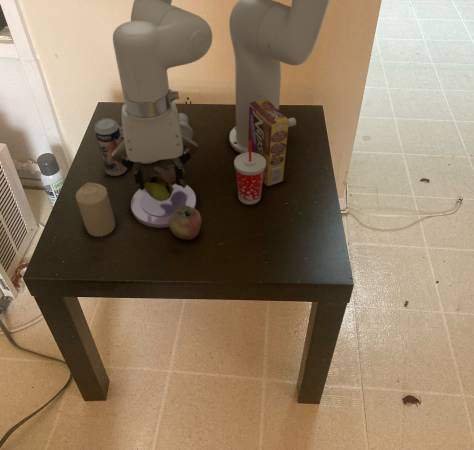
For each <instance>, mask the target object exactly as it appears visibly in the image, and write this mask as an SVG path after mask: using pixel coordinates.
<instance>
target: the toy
mask: <svg viewBox="0 0 474 450" xmlns="http://www.w3.org/2000/svg"><path fill="white" fill-rule="evenodd" d="M164 168H165V169H164ZM164 168H161V167H158V166H155V167H153V171H155V172H156V173H158V174H153V175H152V174H151V176H149V177H148V178H146V179H144V188H145V189H146V191H147V192H148V194H149V195H150V196H151V197H152V198H154V199H155V200H157V201H165V200H167V199H169V198H170V197H171V195H172V193H173V190H174V189H173V187H172V185H174V184H177V183H176V176H175V168H174V164H168V165H166V166H164ZM182 171H183V176H184V175H185V174H186V171H185V169H184V167H183V168H182ZM186 185H187V183H186V182H185V181H184V180H183V179H180V185H179V186H182V187H183V188H185V187H186Z"/></svg>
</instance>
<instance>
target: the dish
mask: <svg viewBox="0 0 474 450" xmlns="http://www.w3.org/2000/svg"><path fill="white" fill-rule="evenodd" d="M172 187H173V189H174V190H173V193H172V195H171V197H170V198H169V199H167V200H165V201H157V200H155V199H154V198H152V197H151V196H150V195H149V194H148V192H147V191H146V189H144V190H141V188H140V187H139V189H137V191H135V193H134V194H133V196H132V197H131V200H130V209H131V213H132V215H133V217H134V218H135V220H137V222H139V223H141V224H142V225H144V226H147V227H151V228H159V229H160V228H162V229H163V228H164V229H165V228H170V227H169V219H170V216H171V215H172V214H173V213H174V212H175V211H176V210H178V209H179V208H180V207H181V206H190V207H192V208H194V209H196V208H197V196H196V193H195V191H194V190H193V188H191V187H190V185H188V184H186V187H185V188H183V187H182V186H178V185H177V184H174V185H172Z"/></svg>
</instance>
